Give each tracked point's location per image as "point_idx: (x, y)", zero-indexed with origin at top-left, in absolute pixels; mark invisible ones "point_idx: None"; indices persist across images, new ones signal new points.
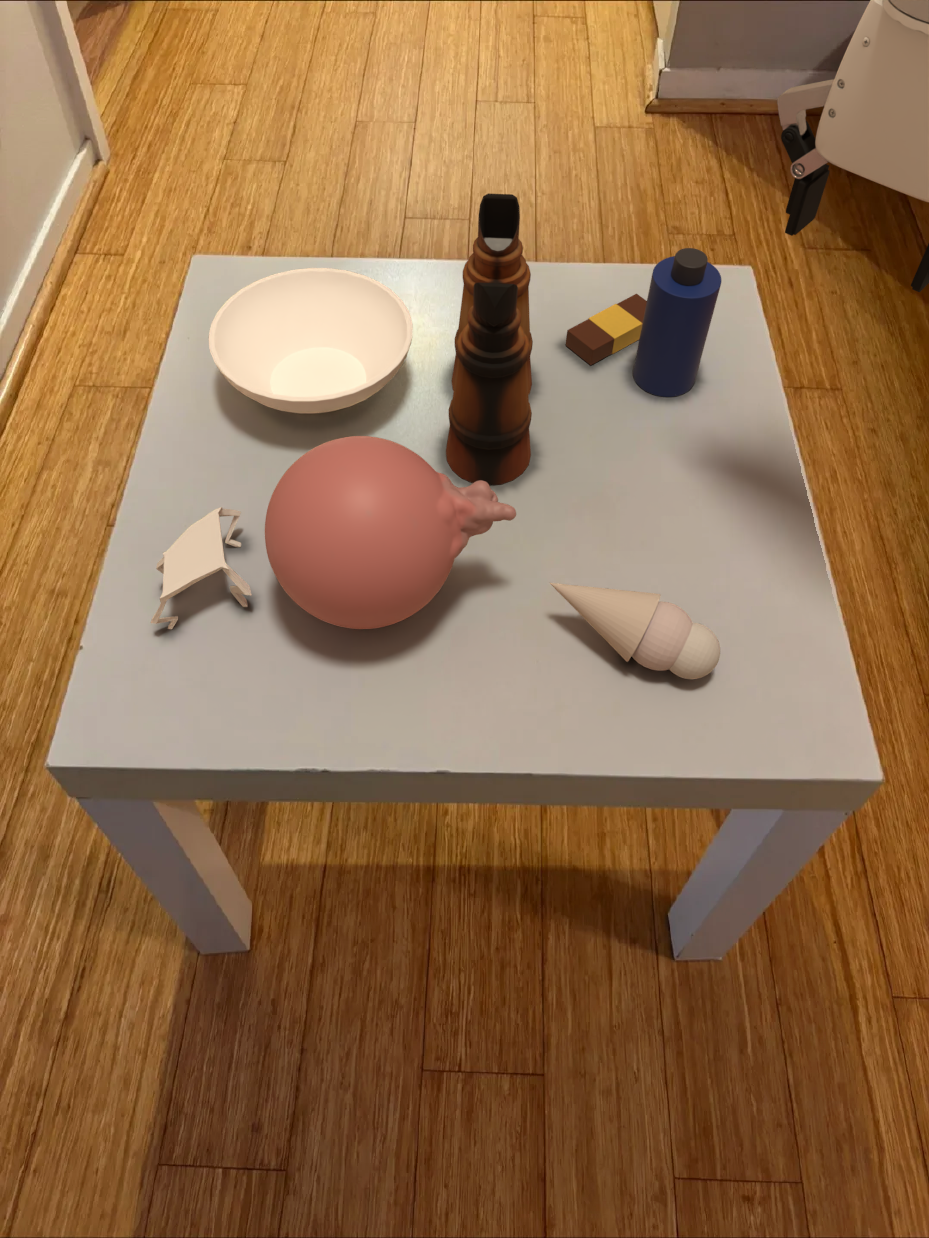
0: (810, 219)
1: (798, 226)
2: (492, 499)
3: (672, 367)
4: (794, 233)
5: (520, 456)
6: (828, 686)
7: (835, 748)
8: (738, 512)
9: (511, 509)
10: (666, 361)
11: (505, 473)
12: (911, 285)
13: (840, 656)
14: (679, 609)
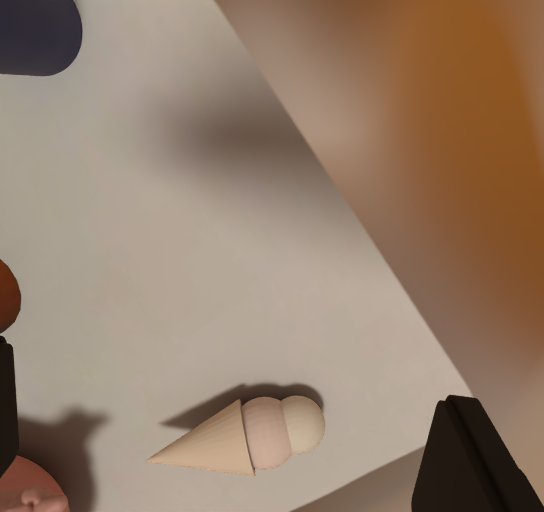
0: (5, 376)
1: (2, 461)
2: (32, 501)
3: (38, 66)
4: (12, 459)
5: (2, 308)
6: (424, 357)
7: None
8: (250, 205)
9: (58, 510)
10: (23, 71)
11: (7, 322)
12: (413, 510)
13: (423, 320)
14: (269, 434)
